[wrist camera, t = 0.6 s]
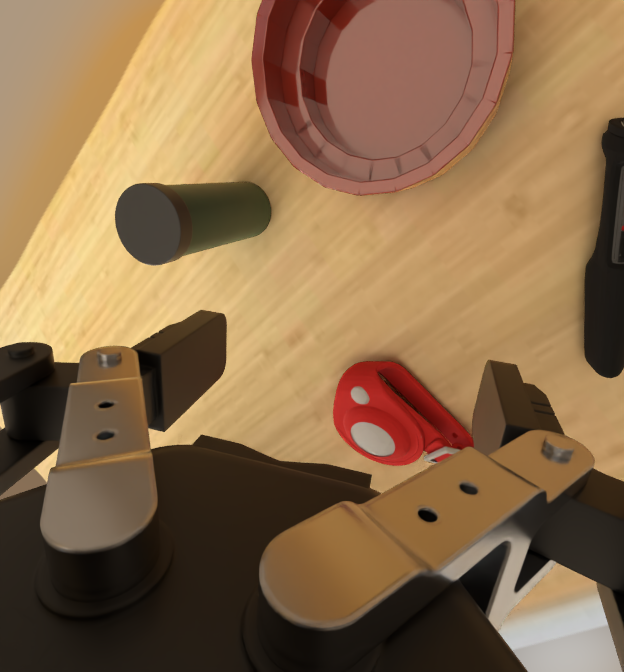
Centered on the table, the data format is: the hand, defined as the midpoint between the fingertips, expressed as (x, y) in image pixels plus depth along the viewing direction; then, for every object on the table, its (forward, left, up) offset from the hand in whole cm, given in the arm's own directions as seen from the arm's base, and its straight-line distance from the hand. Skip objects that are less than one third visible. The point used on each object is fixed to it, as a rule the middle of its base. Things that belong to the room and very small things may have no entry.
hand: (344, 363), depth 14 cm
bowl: (-5, -11, -22) cm, 25 cm away
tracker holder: (+10, +10, -22) cm, 26 cm away
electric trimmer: (-10, +7, -22) cm, 25 cm away
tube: (+9, -12, -22) cm, 27 cm away
